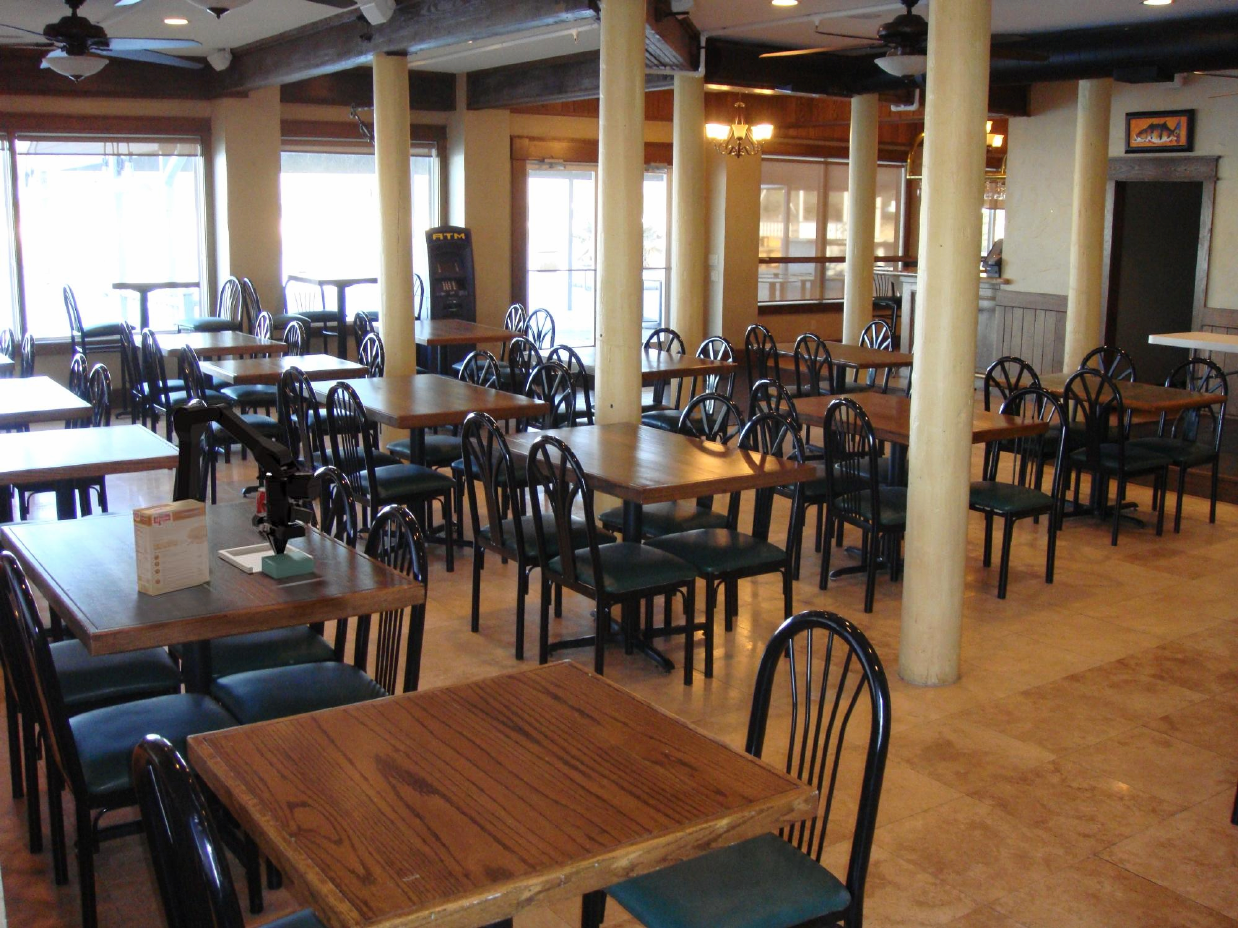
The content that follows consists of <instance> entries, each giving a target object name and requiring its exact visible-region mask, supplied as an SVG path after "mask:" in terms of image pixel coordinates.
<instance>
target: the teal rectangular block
mask: <svg viewBox="0 0 1238 928" xmlns="http://www.w3.org/2000/svg"><path fill="white" fill-rule="evenodd" d="M301 551H302V550H300V551H295V552H289V553H283V554H277V555H270V556H264V557H262V571H261V572H263V573H264V574H266V575H268V576H269V577H272V578H274V579H281V578H287V577H292V576H293V577H294V576H299V575H303V574H308V573H315V559H314V558H313V559H312V558H310V557H309V556H307V555H306V554H307V553H306V554H304V553H305V552H304V551H302V552H301ZM303 552H304V553H303Z"/></svg>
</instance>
